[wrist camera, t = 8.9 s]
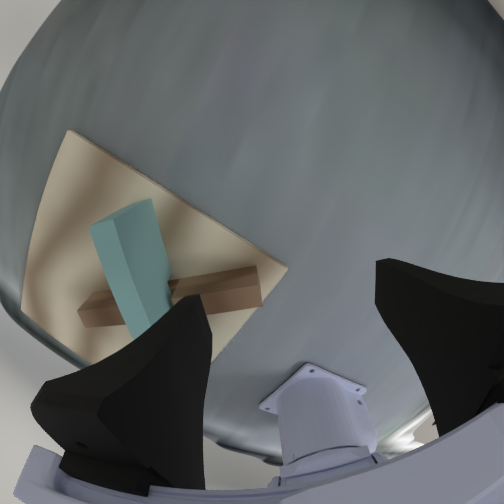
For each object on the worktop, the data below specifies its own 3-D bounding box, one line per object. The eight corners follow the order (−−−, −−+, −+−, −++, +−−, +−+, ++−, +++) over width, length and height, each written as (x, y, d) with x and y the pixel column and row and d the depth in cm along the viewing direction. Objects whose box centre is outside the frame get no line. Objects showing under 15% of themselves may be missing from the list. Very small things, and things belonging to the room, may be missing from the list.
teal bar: (131, 203, 18) (88, 226, 12) (151, 198, 18) (113, 219, 12) (185, 358, 23) (173, 409, 17) (202, 356, 22) (193, 409, 17)
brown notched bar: (256, 265, 20) (258, 284, 17) (260, 284, 20) (262, 306, 17) (93, 292, 20) (76, 310, 17) (100, 308, 21) (85, 327, 18)
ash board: (286, 266, 20) (288, 269, 20) (172, 402, 26) (171, 406, 25) (72, 129, 16) (68, 129, 15) (23, 307, 21) (21, 309, 21)
